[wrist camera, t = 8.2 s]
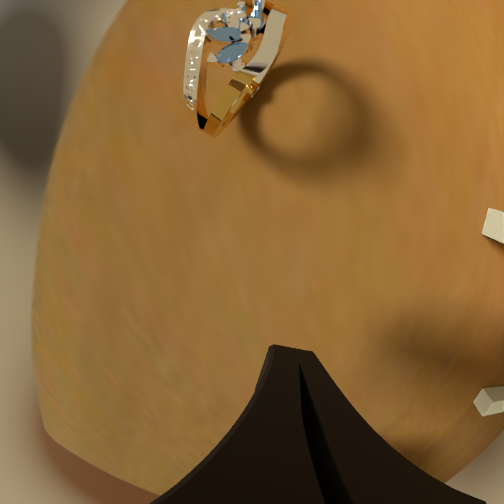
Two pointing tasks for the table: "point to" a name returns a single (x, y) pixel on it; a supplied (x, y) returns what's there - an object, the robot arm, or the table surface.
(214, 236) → the table surface
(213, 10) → the ring
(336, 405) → the robot arm
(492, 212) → the guide
